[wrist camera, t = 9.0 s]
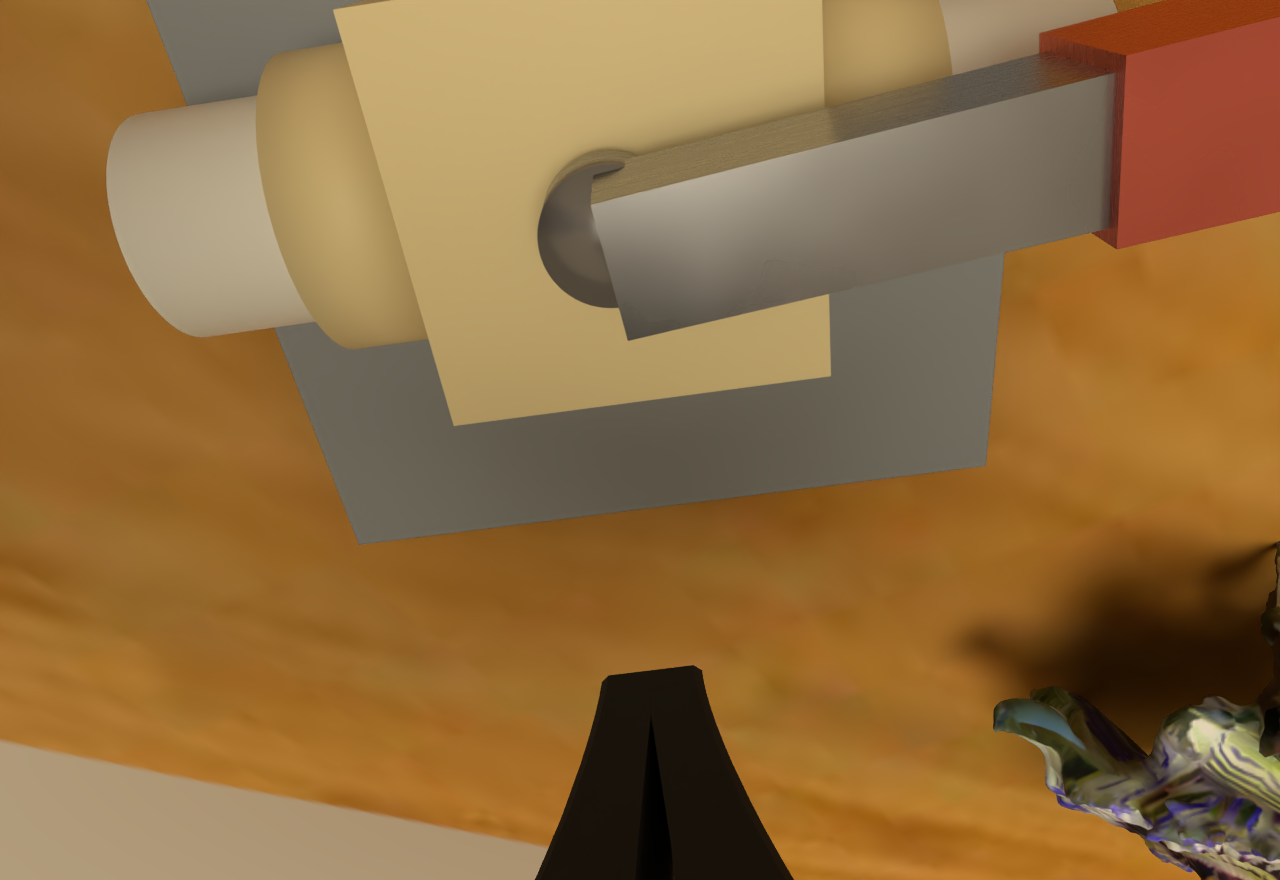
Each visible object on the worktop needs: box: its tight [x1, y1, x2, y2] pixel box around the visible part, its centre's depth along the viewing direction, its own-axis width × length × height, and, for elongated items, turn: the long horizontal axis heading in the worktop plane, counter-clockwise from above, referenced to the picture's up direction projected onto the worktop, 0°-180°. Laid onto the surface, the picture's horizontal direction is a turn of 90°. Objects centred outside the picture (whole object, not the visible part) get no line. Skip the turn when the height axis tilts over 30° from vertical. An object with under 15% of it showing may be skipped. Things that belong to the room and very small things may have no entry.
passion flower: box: [993, 542, 1280, 880], centre depth 23 cm, size 11×11×12 cm
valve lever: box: [537, 0, 1280, 341], centre depth 11 cm, size 12×2×2 cm, turn 104°
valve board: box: [106, 0, 1118, 545], centre depth 15 cm, size 16×18×6 cm
